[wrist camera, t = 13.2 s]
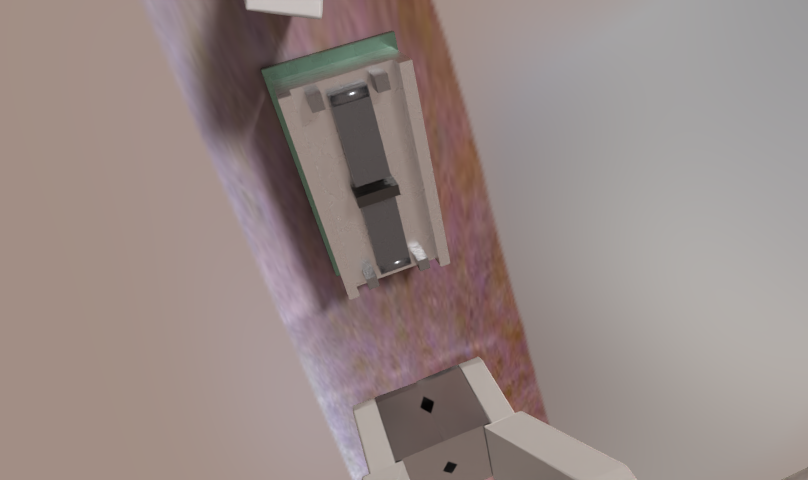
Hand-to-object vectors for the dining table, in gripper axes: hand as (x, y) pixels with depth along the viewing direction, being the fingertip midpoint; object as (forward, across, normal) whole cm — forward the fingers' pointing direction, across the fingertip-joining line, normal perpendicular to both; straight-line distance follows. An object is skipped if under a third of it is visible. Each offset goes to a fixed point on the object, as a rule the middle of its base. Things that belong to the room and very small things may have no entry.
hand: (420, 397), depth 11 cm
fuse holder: (+34, -4, +10) cm, 36 cm away
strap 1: (+29, -4, +5) cm, 30 cm away
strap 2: (+29, -4, +15) cm, 33 cm away
